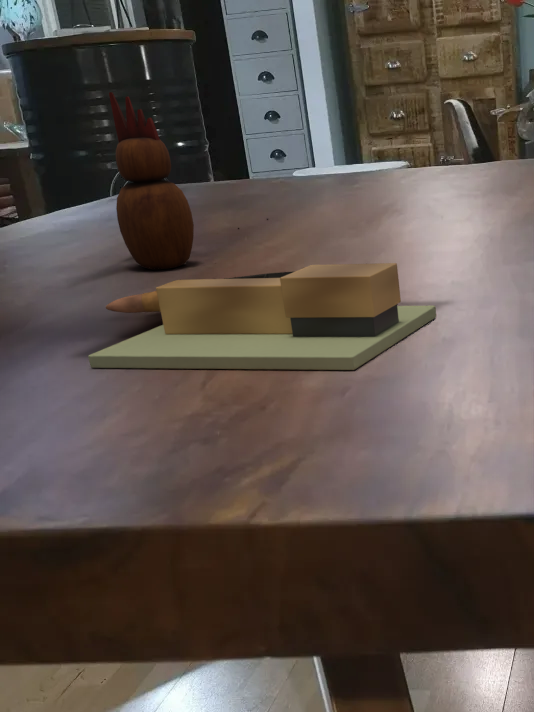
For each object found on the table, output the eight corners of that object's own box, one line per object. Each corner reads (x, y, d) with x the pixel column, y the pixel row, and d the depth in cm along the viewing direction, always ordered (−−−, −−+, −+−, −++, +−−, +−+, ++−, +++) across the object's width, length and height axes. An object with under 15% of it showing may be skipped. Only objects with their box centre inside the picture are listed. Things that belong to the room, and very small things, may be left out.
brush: (157, 337, 71) (145, 280, 70) (192, 322, 75) (182, 267, 73) (377, 337, 67) (369, 276, 65) (403, 321, 70) (397, 262, 69)
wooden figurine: (117, 271, 104) (78, 94, 97) (164, 260, 108) (130, 90, 101) (164, 273, 101) (127, 91, 94) (211, 262, 105) (179, 86, 98)
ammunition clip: (267, 273, 73) (97, 293, 75) (272, 302, 74) (103, 322, 75) (305, 270, 83) (154, 288, 85) (309, 296, 84) (159, 313, 85)
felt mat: (90, 368, 69) (87, 355, 68) (205, 318, 80) (203, 307, 80) (354, 370, 63) (352, 356, 63) (436, 317, 75) (435, 305, 74)
